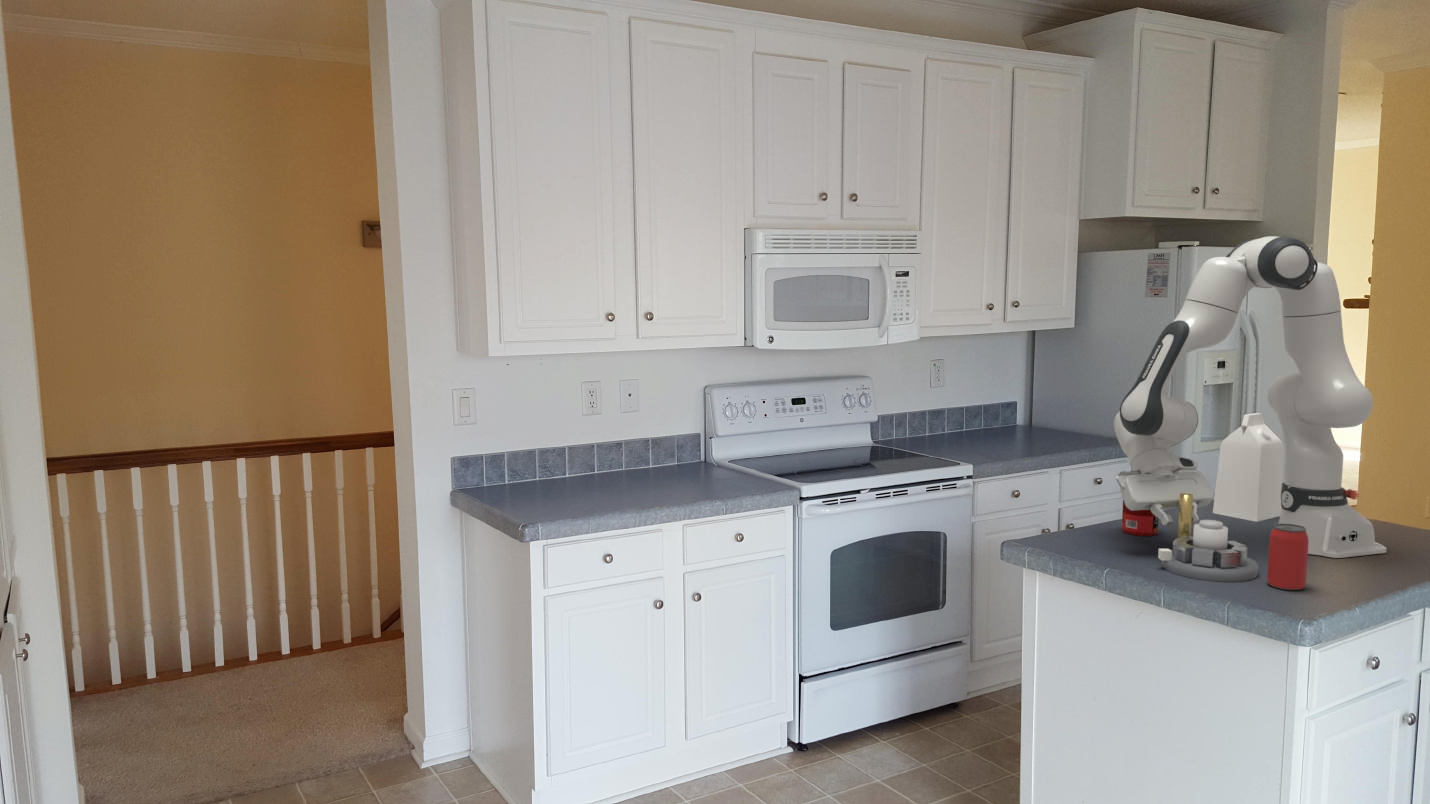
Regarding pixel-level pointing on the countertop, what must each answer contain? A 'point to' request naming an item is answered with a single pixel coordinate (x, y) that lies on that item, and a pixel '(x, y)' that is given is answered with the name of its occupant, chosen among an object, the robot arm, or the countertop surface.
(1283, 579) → the beer can
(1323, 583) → the countertop surface
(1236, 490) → the milk
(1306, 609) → the countertop surface
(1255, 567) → the flange base
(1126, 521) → the canned food
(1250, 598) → the countertop surface
